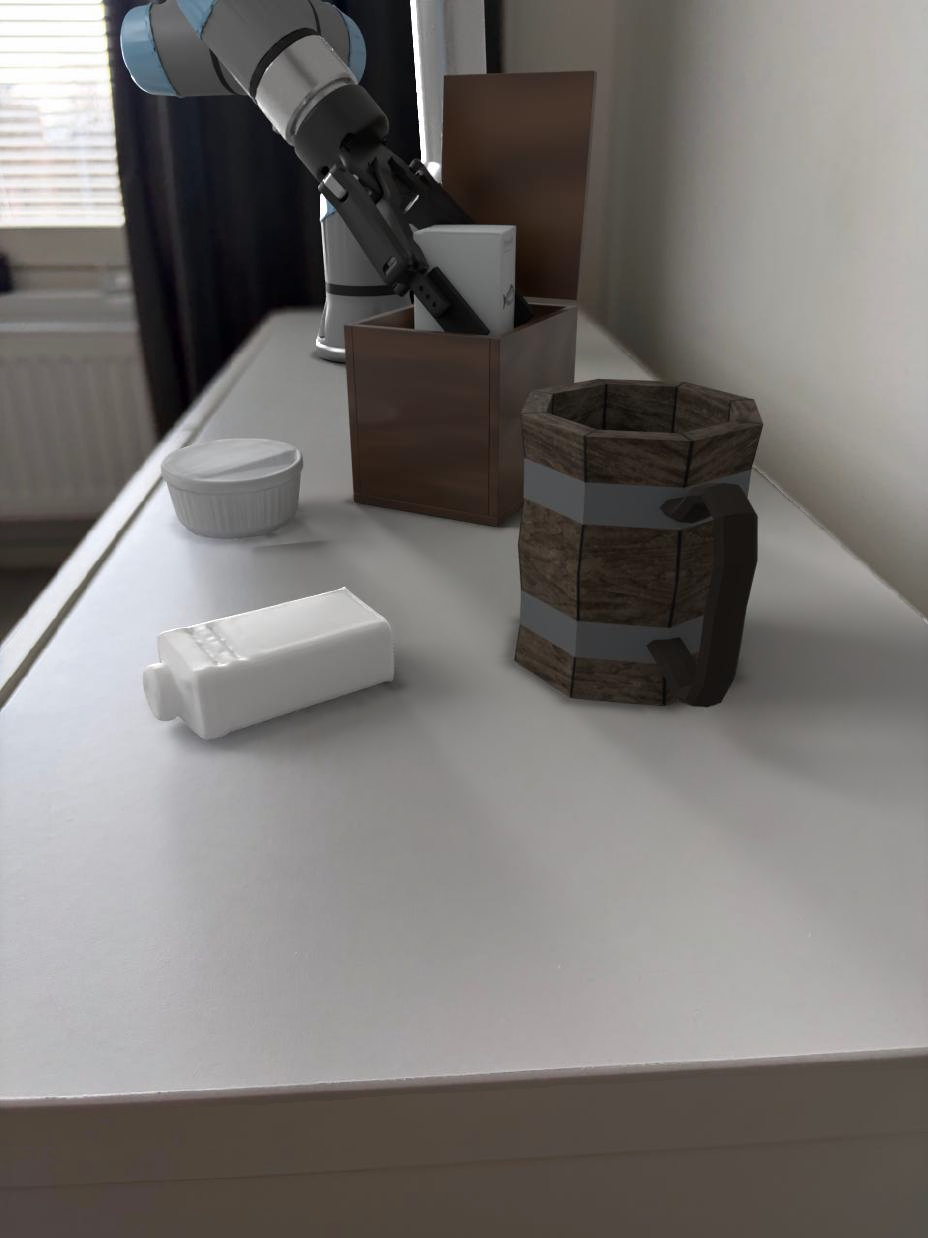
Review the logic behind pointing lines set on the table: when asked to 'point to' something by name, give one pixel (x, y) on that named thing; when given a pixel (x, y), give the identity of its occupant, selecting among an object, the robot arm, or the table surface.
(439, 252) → the white packaging box
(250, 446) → the ramekin
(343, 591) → the white bottle
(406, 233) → the robot arm
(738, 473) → the mug
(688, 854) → the table surface
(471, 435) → the chest
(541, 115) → the lid
